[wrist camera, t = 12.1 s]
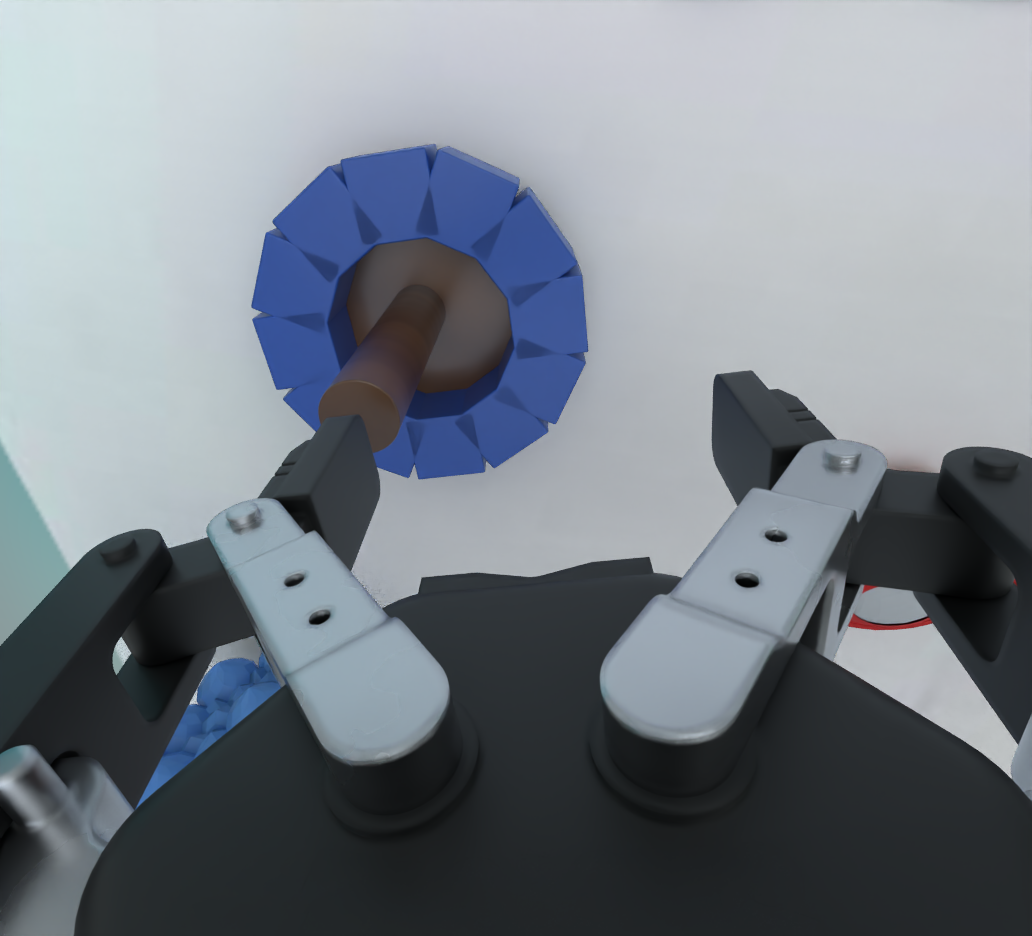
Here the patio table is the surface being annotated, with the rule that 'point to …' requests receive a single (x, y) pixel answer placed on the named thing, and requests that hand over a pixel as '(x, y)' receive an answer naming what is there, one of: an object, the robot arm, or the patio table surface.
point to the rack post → (415, 333)
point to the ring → (460, 226)
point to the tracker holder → (888, 610)
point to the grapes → (214, 713)
